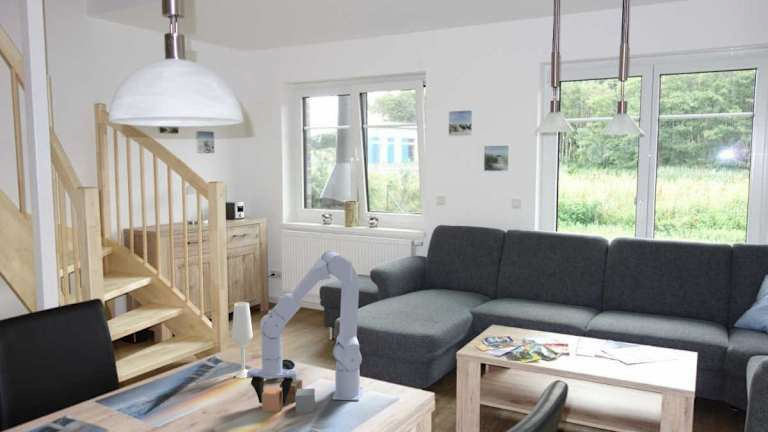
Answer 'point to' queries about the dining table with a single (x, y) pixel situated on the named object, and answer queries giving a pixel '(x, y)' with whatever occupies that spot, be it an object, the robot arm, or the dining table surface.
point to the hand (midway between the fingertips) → (273, 402)
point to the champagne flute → (242, 332)
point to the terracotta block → (272, 399)
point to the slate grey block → (305, 400)
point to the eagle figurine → (286, 366)
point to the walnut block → (293, 390)
